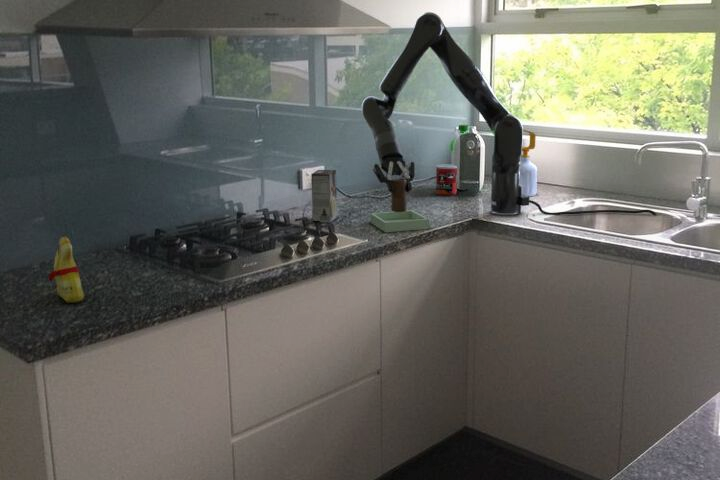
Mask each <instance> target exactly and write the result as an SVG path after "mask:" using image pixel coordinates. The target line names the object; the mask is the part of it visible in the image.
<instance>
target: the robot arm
mask: <svg viewBox="0 0 720 480" xmlns="http://www.w3.org/2000/svg"><path fill="white" fill-rule="evenodd" d="M429 49H431V51H433V52H434V54H435V55H436V56H437V57H438V59H439V61H440V63H441V65H442V66H443V68H444V70H445V72H446V74H447V76H448V77H449V78H450V80H451V82H452V83H453V85H454V86H455V87H456V88H457V90H458V91H459V92H460V93H461V95H463V97H464V98H465V99H466V100H467V101H468V102H469V103H470V105H472V106H473V107H474V108H475V109H476V110H477V111H478V112H479V113H480V115H481V116H482V118H483V120H484V121H485V122H486V124H487V126H488V128H489V129H490V131H491V133H492V135H493V136H494V139H493V142H494V143H493V144H494V145H493V153H492V156H491V157H492V158H491V193H490V200H489V203H490V214H492V215H495V216H505V217H506V216H515V215H521V213H522V206H523V207H524V206H525V207H526V206H530V204H533V205H534V206H536V207H537V208H538V210H539V212H540V213H542V214H544V215H550V216H559V215H580V214H582V215H583V214H599V213H602V214H603V213H604V214H605V213H619V214H641V213H642V214H643V213H650V214H652V215H653V216H658V215H657V213H656V212H655V211H653V210H651V209H639V210H627V209H626V210H625V209H597V210H596V209H594V210H579V211H577V210H576V211H558V212H556V211H555V212H549V211H545V210H543V208H542V206H541V205H540V204H539V202H537V201H534V200H531V199H530V196H528V197H527V196H525V195H521V191H522V186H521V185H519V178H520V161H521V155H523V151H522V147H523V139H524V138H523V137H524V131H523V130H524V129H523V123H522V122H521V120H520V119H519V118H518V117H516V116H514V115H513V114H512V113H511V112H509V110H507V108H506V107H505V106H504V105H503V104H502V102H500V100H499V99H498V98H497V96H496V94H495V93H494V90H493V89H492V86H491V85H490V83H489V81H488V79H487V77H486V76H485V75H484V73H483V72H482V71H481V70H480V68H479V67H478V66H477V64H476V63H475V62H474V60H472V58H470V56H469V55H468V54H467V53H466V52H465V51H464V50H463V49H462V48H461V46H459V45H458V44H457V42H456V40H454V38H453V37H452V35H451V34H450V32H449V30H448V28H447V27H446V25H445V24H444V22H443V20H442V19H441V16H440V15H438V14H437V13H434V12H430V11H427V12H423V13H422V14H420V15H419V16H418V17H417V18H416V20H415V22H414V26H413V30H412V32H411V34H410V37H409V39H408V41H407V43H406V45H405V46H404V48H403V50H402V52H400V54H399V56H398V57H397V58H396V60H395V61H394V62H393V63H392V65H391V66H390V68H389V69H388V71H387V73H386V74H385V76H384V77H383V79H382V81H381V82H380V84H379V90H380V92H381V93H382V94H383V98H382V99H381V98H379V97H376V96H373V95H369V96H367V97H366V98H365V99H364V100H363V101H362V104H361V113H362V116H363V118H364V120H365V121H366V123H367V125H368V127H369V128H370V130H371V133H372V136H373V140H374V145H375V150H376V152H377V155H378V160H379V163H380V164H378V163H375V164H374V166H373V168H372V171H373V173H374V175H375V176H376V178H377V180H378V181H379V183H380V184H383V183H384V184H386V187H387V191H388V192H390V194H391V193H394V190H395V189H394V186H393V182H392V177H393V176H398V177H399V178H402V179H406V193H410V192H411V191H412V189H413V186H412V183H411V182H413V181H414V178H415V175H416V173H415V172H416V171H415V170H416V169H415V162H414V161H411V162H407V161H405V159H404V155H403V152H402V149H401V145H400V142H399V139H398V137H397V134H396V132H395V128H394V125H393V123H392V121H391V120H390V118H391V117H392V116H393V113H394V110H395V107H396V103H397V101H398V97H399V95H400V93H401V92H402V90H403V89H404V87H405V86H406V84H407V83H408V81H409V79H410V78H411V76H412V73H413V72H414V71H415V69H416V67H417V65H418V63H419V62H420V60H421V59H422V58H423V56H424V55H425V53H426V52H427V51H428V50H429ZM406 169H407V170H406ZM383 172H384V173H386V174H384V173H383Z"/></svg>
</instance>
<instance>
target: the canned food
mask: <svg viewBox="0 0 720 480" xmlns="http://www.w3.org/2000/svg"><path fill="white" fill-rule="evenodd" d="M435 167H436V169H435V170H436V172H435V173H436V177H435V178H436V179H435V184H436V185H435V193H436V195H437V196H440V197H453V196H456V195H457V192H458V190H457V189H456V187H457V182H456V175H457V166H455V165H453V163H442V164H436V166H435Z"/></svg>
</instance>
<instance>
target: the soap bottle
mask: <svg viewBox="0 0 720 480" xmlns="http://www.w3.org/2000/svg"><path fill="white" fill-rule="evenodd" d="M523 132H525V133H527V134H529V145H528V146H522V154H521V157H520V178H519V185H521V186H522V191H521V195H525V196H527V197H534V196H536V195H537V187H538V186H537V185H538V184H537V182H538V168H537V167H538V166H536V164H534V163H532V161H531V155H530V154H529V152H530V150H534V149H535V147H536V138H537V137H536V133H534V132H533V131H528V130H526V129H523Z"/></svg>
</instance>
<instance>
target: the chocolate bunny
mask: <svg viewBox="0 0 720 480" xmlns="http://www.w3.org/2000/svg"><path fill="white" fill-rule="evenodd" d="M74 259H75V258H74V256H73V245H72V243H71V241H70V239H69V238H68V237H67V236H63V237H62V236H61V238H60V239H59V243H58V249H57V251H56V253H55V256H54V260H53V270H51V271H50V274H49V275H48V280H49V282H52V281H53V280H55V283H56V284H55V285H56V289H57V292H56V293H57V294H58V296H59V297H60V298H62V299H63V300H64V301H65V302H66V303H67V304H76V303H80V302H81V301H83V300H84V298H85V295H84V291H83V288H82V281H81V277H80V273H79V272H80V270H79V266H77V264H76V262H75V260H74Z"/></svg>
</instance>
